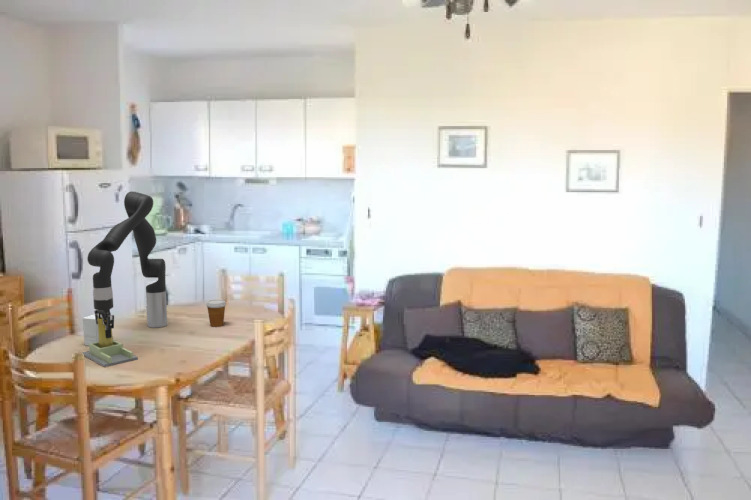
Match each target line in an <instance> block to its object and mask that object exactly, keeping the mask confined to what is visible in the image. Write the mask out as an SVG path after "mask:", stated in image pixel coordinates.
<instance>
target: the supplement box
mask: <svg viewBox="0 0 751 500" xmlns="http://www.w3.org/2000/svg"><path fill="white" fill-rule="evenodd" d="M82 326H83V327H82V329H83V341H84V345H85V346H88V347H89V344H91V343H96V342H99V334H98V324H96V319H95V313H94V314H91V315H88V316H85V317H82Z"/></svg>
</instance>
